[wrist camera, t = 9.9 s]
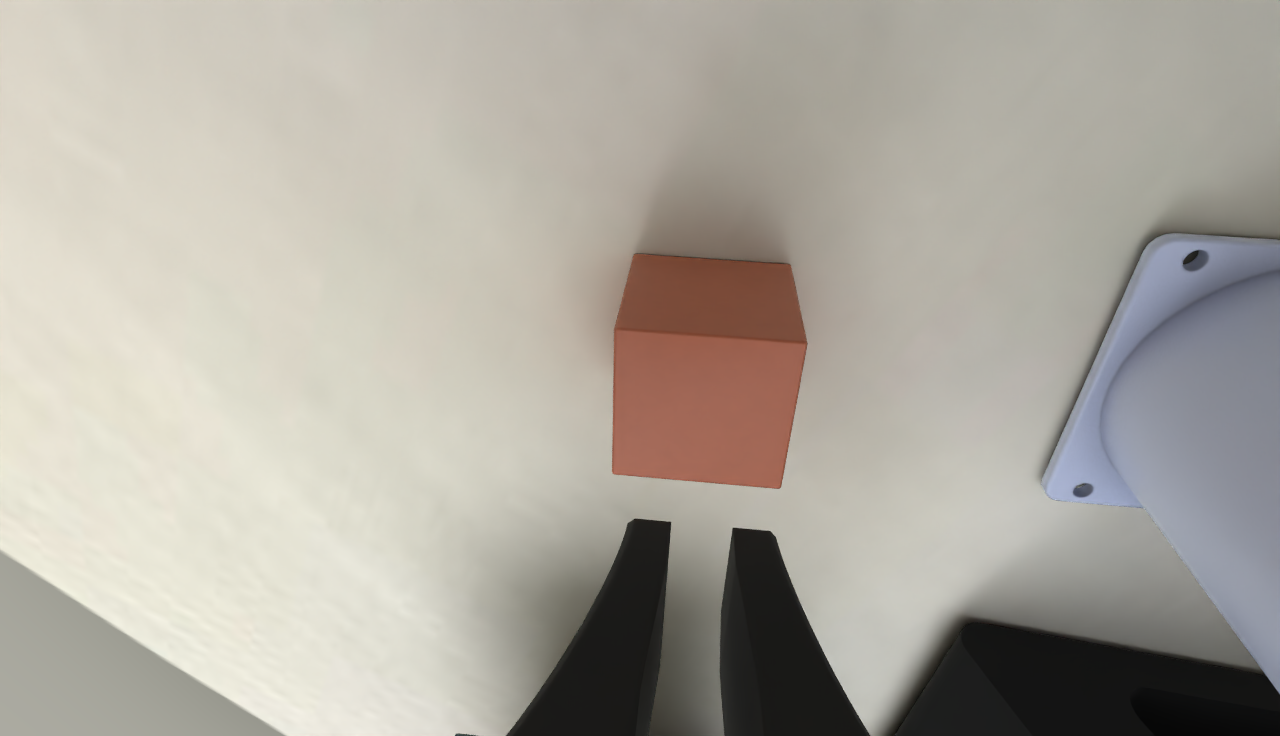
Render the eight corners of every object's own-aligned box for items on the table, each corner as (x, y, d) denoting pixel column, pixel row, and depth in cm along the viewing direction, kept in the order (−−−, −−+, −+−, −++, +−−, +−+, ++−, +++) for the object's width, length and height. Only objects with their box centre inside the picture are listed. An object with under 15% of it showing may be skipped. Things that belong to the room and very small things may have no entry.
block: (791, 263, 18) (808, 343, 14) (770, 394, 20) (781, 490, 17) (633, 252, 18) (614, 328, 15) (629, 383, 20) (611, 475, 17)
